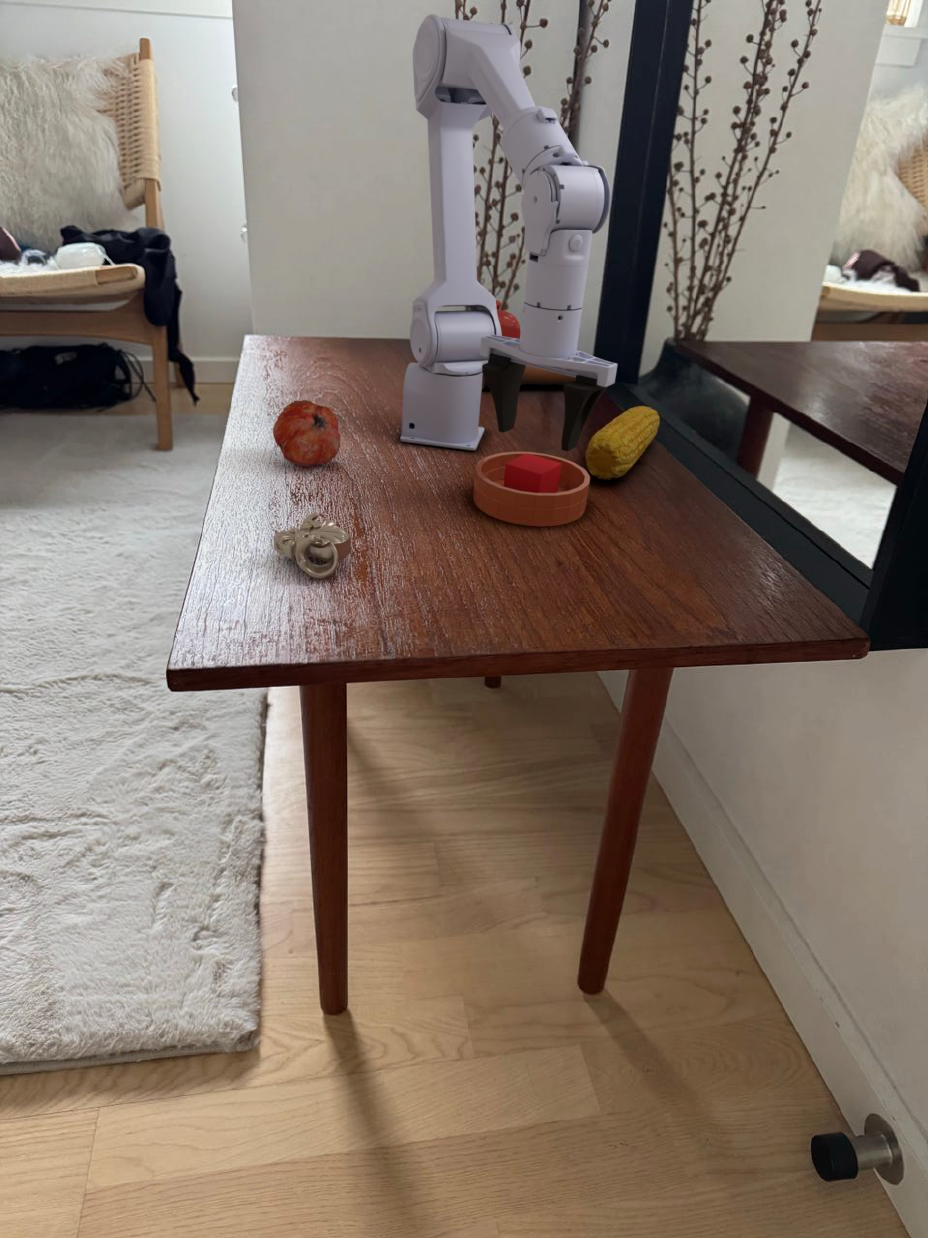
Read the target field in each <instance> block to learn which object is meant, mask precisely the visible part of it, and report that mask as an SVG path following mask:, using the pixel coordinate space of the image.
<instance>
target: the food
mask: <svg viewBox="0 0 928 1238" xmlns="http://www.w3.org/2000/svg"><path fill="white" fill-rule="evenodd" d="M660 420H661V418H660V415H659V413H658V411H657V410H655V409H653V408H652V407H648V406H645V405H639V406H635V407H631V408H628V409H627V410H626V411H624V412H622V413H621V414H619V415H617V416H616V417H614V418H613V419H612V420H611V421H610V422H609V423H607V424H605V426H604V427H602V428H601V429H600V430H597V431H596V433H595V434H594V435H592V437H591V438H590V440H589V442H588V446H587V448H586V449H585V456H584V457H585V463H586V468H587V470H588V471H589V473H590V475H592V476H593V477H595V478H597V479H600V480H608V481H611V479H619V478H621V477H623V476H624V475H626V473H628V471H629V470H630V469H632V468H633V466H634V465H635V464H636V463H637V461H638V460H639V458H640V457H641V456H642V455H643V454H644V452H645V451H646V449H647V448H648V446H649V445H650V444H651V443H652V442H653V440H654V439H655V437H656V436H657V433H658V431H659V427H660V423H661V421H660Z"/></svg>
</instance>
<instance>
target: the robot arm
mask: <svg viewBox="0 0 928 1238" xmlns="http://www.w3.org/2000/svg"><path fill="white" fill-rule="evenodd" d="M521 42H522V41H521V40H520V39H519V37H518V36H517V33H516V30H515V28H514V27H513V26H512V25H511V24H510V23H508V22H501V23H491V22H484V21H476V20H468V19H460V18H452V17H451V18H450V17H443V16H439V15H437V14H433V13H431V14H428V15H426V16H425V18H424V19H423V21H422V22H421V23H420V25H419V27H418V30H417V33H416V37H415V41H414V44H413V49H412V72H413V73H412V74H413V91H414V92H413V93H414V99H415V110H416V112H418V113H419V114H420V115H422V116H423V117H424V118H425V119H426V123H427V125H426V126H427V144H428V163H429V164H428V167H429V170H428V171H429V187H430V188H429V190H430V210H431V232H432V233H431V235H432V237H431V239H432V258H433V278H434V279H433V281H432V282H431V283H430V284H429V285H428V286H427V287H426V288H424V289H423V290H422V292H420V293H419V294H418V295H417V296H416V297H415V298H414V300H413V301H412V306H411V307H412V308H411V309H412V310H411V311H412V316H411V323H410V329H409V343H410V344H409V345H410V348H411V353H412V355H413V358H414V360H416V361H417V362H409V363H408V365H407V367H406V371H405V374H404V381H403V388H402V389H403V391H402V410H401V411H402V412H401V413H402V414H401V436H400V438H399V439H400V440H399V441H401V442H403V443H409V444H410V443H411V444H419V445H426V446H434V447H442V448H449V449H456V450H457V449H458V450H464V451H472V452H473V451H476V450H477V449H478V446H479V444H480V442H481V440H482V437H483V435H484V433H485V427H484V426H479V425H480V413H481V412H480V411H481V401H482V390H483V389H482V378H483V374H484V376H485V378H486V381H487V383H488V385H489V387H488V388H489V390H490V393H491V397H492V400H493V404H494V410H495V414H496V421H497V422H496V423H497V429H498V432H500V433H503V434H505V433H506V432H508V431H510V430H513V429H515V424H516V419H517V411H518V401H519V395H520V389H521V386H522V385H521V381H522V377H523V374H524V371H525V367H526V365H527V366H531V367H535V368H539V369H543V370H547V371H551V372H555V373H559V374H563V375H567V376H571V377H575V378H576V380H575V381H572V382H569V383H567V384H565V385H563V396H564V422H563V428H562V436H561V442H560V443H561V444H560V445H561V451H564V452H569V451H571V450H574V449H575V448H577V446H578V443H579V440H580V437H581V434H582V432H583V429H584V427H585V425H586V423H587V421H588V418H589V417H590V414H592V411H593V409H594V408H595V406H596V405H597V404H598V402H599V400H600V399H601V397H602V396H603V394H604V393H605V392H606V391H607V389H608V388H609V386H611V385H613V384H614V385H615V383H616V378H617V377H616V376H617V371H618V370H617V369H618V363H616V362H613V361H612V362H611V361H608V360H605V359H602V358H599V357H596V356H594V355H591V354H589V353H586V352H584V351H581V350H579V349H578V344H579V336H580V328H581V322H582V315H583V308H584V307H583V306H584V301H585V293H586V286H587V279H588V271H589V265H590V258H591V257H590V256H591V249H592V242H593V235H594V234H597V233H598V232H600V230H601V229H602V228H603V226H604V225H605V223H606V221H607V219H608V216H609V213H610V209H611V208H610V207H611V201H612V199H611V198H612V197H611V196H612V193H611V185H610V182H609V178H608V176H607V173H606V170H605V168H604V167H602V166H601V165H600V164H594V163H593V164H590V163H589V161H588V160H581V158H580V156H579V155H578V153H577V151H576V150H575V148H574V146H573V144H572V143H571V141H570V139H569V138H568V135H567V134H566V132H565V131H564V129H563V127H562V126H561V124H560V121H558V115H557V113H556V111H555V110H554V108H548V107H545V106H541V105H536V103H535V101H534V99H533V97H532V94H531V92H530V90H529V88H528V85H527V83H526V81H525V78H524V76H523V74H522V71H521V69H520V65H521V64H520V63H521V52H522V50H521V49H522V43H521ZM492 114H493V115H494V116H495V118H496V119H497V121H498V122H499V124H500V126H501V127H502V128H503V131H502V135H501V141H500V146H501V150H502V153H503V155H504V157H505V158H506V160H507V163H508V164H509V166H510V168H511V170H512V172H513V174H514V176H515V178H516V179H517V181H518V183H519V185H520V187H521V188H522V191H523V194H521V215H522V220H523V224H524V237H523V238H524V239H523V244H524V249H525V251H527V252H528V257H527V266H526V267H527V268H526V277H525V286H524V297H523V305H522V315H521V325H520V330H521V334H520V339H517V338H510V337H503V336H502V333H501V326H500V323H499V320H498V315H497V308H496V300H497V298H496V297H495V296H494V295H493V294H492V293H491V292H490V291H489V290H488V289H487V288H485V287H484V286H483V285H482V284H481V283H480V282H479V281H478V269H477V267H478V266H477V265H478V264H477V237H476V236H477V234H476V231H477V230H476V207H475V206H476V203H475V168H474V137H473V135H474V129H475V127H476V125H477V123H478V122H479V121H482V120H484V119H486V118H488V117H490V116H491V115H492ZM443 307H445V308H447V307H448V308H449V307H465V308H468V309H467V310H466V309H465V310H462V309H461V310H439V309H440V308H443Z"/></svg>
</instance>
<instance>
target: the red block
mask: <svg viewBox="0 0 928 1238" xmlns="http://www.w3.org/2000/svg"><path fill="white" fill-rule="evenodd" d="M560 471H561V463H558V462H555V461H551V460H548V459H545V458H541V457H538V456H535V455H531V454H528V453H526V454H524V455H522V456H520V457H518V458H516V459H514V460H512V461H510V462H508V463H506V465H505V475H504V485H503V487H507V488H511V489H514V490H518V491H524V492H532V493H558V486H559V479H560Z"/></svg>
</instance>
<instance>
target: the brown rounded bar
mask: <svg viewBox="0 0 928 1238" xmlns="http://www.w3.org/2000/svg"><path fill="white" fill-rule="evenodd" d="M575 380H576V378H575V377H571V376H567V375H563V374H559V373H555V372H551V371H547V370H543V369H539V368H535V367H531V366H527V365H526V367H525V371H524V374H523V377H522V381H521V385H520V386H523V385H537V386H538V385H540V386H541V385H542V386H549V385H550V386H551V385H559V386H564V385H565V384H567V383H569V382H572V381H575ZM486 387H487V388H489V385H488V383H487V381H486V378H485V376H484V374H483V378H482V390H484V389H486Z"/></svg>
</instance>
